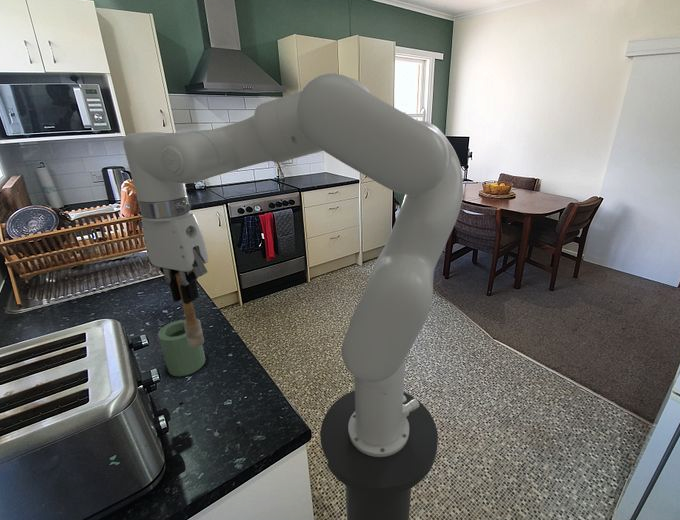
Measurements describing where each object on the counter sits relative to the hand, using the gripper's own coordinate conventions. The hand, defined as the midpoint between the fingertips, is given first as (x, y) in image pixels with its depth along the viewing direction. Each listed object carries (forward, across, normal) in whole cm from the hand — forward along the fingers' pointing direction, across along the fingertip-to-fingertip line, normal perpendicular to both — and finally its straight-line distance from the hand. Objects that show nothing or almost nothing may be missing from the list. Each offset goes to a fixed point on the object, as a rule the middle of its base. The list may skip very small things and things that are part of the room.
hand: (186, 298), depth 67 cm
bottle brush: (+11, 0, 0) cm, 11 cm away
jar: (+28, +16, -9) cm, 33 cm away
